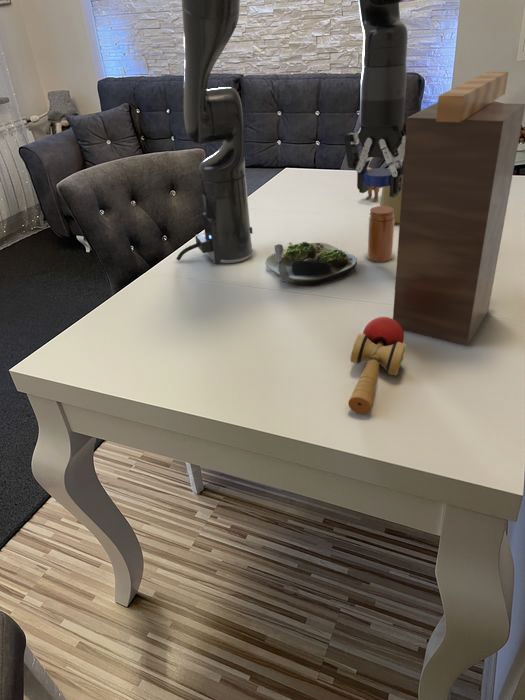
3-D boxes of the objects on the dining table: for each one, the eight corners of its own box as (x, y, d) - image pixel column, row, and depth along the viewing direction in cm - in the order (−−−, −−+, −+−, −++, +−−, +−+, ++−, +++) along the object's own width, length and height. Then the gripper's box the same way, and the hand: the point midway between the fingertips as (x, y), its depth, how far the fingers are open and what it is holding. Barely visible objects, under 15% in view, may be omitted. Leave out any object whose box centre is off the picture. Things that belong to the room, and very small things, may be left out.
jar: (375, 263, 109) (377, 215, 103) (362, 255, 113) (364, 208, 107) (396, 258, 110) (400, 210, 104) (383, 250, 114) (386, 204, 108)
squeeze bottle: (416, 224, 125) (423, 144, 115) (381, 227, 126) (386, 147, 116) (409, 213, 132) (415, 136, 122) (376, 215, 132) (379, 139, 123)
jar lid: (372, 177, 102) (373, 166, 101) (400, 180, 99) (401, 170, 98) (357, 184, 98) (357, 174, 97) (385, 188, 95) (386, 177, 94)
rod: (460, 122, 65) (463, 95, 63) (435, 121, 66) (438, 95, 65) (505, 94, 80) (508, 71, 78) (484, 93, 81) (487, 71, 80)
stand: (467, 345, 81) (503, 120, 64) (392, 327, 87) (406, 117, 70) (488, 311, 89) (525, 103, 72) (418, 297, 95) (437, 102, 78)
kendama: (395, 427, 69) (416, 340, 81) (387, 391, 65) (410, 306, 78) (337, 423, 72) (366, 340, 85) (327, 389, 69) (358, 308, 81)
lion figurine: (366, 206, 139) (367, 170, 134) (354, 201, 143) (355, 166, 138) (410, 194, 144) (413, 160, 139) (397, 190, 148) (399, 156, 143)
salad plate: (244, 262, 114) (242, 241, 111) (313, 241, 121) (313, 222, 118) (292, 295, 99) (291, 272, 97) (368, 270, 106) (369, 248, 104)
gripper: (432, 92, 89) (423, 193, 98) (357, 90, 97) (355, 184, 106) (412, 99, 84) (404, 205, 93) (334, 97, 92) (334, 194, 101)
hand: (378, 193), depth 100 cm, fingers closed on jar lid, 5 cm apart
